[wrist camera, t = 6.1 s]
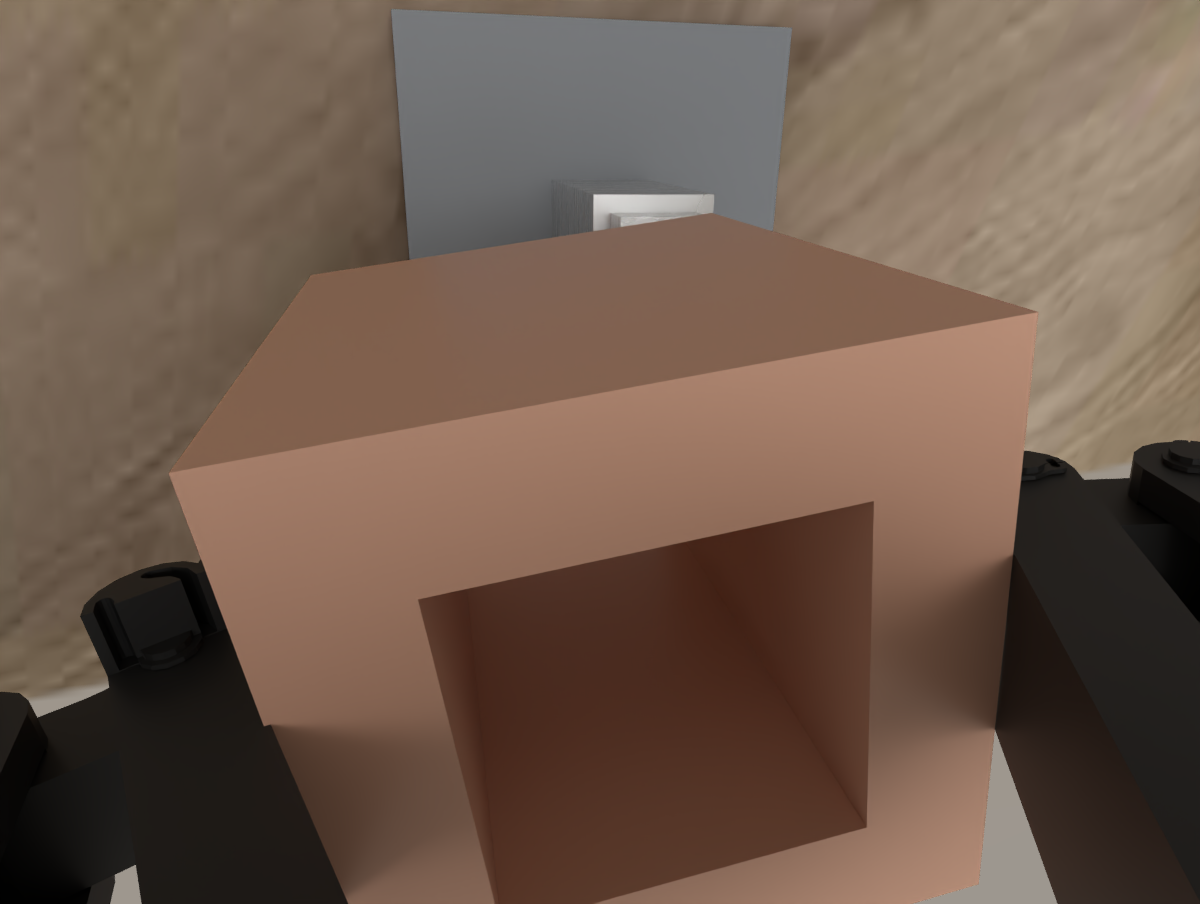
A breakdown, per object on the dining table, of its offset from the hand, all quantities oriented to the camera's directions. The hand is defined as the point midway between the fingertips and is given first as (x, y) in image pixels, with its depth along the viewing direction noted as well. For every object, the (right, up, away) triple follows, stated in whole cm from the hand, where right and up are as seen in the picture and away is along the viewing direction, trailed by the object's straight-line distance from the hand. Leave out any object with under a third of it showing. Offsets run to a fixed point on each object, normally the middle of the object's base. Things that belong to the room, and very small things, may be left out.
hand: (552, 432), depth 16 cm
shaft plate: (+1, +8, +15) cm, 17 cm away
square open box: (0, 0, 0) cm, 0 cm away
